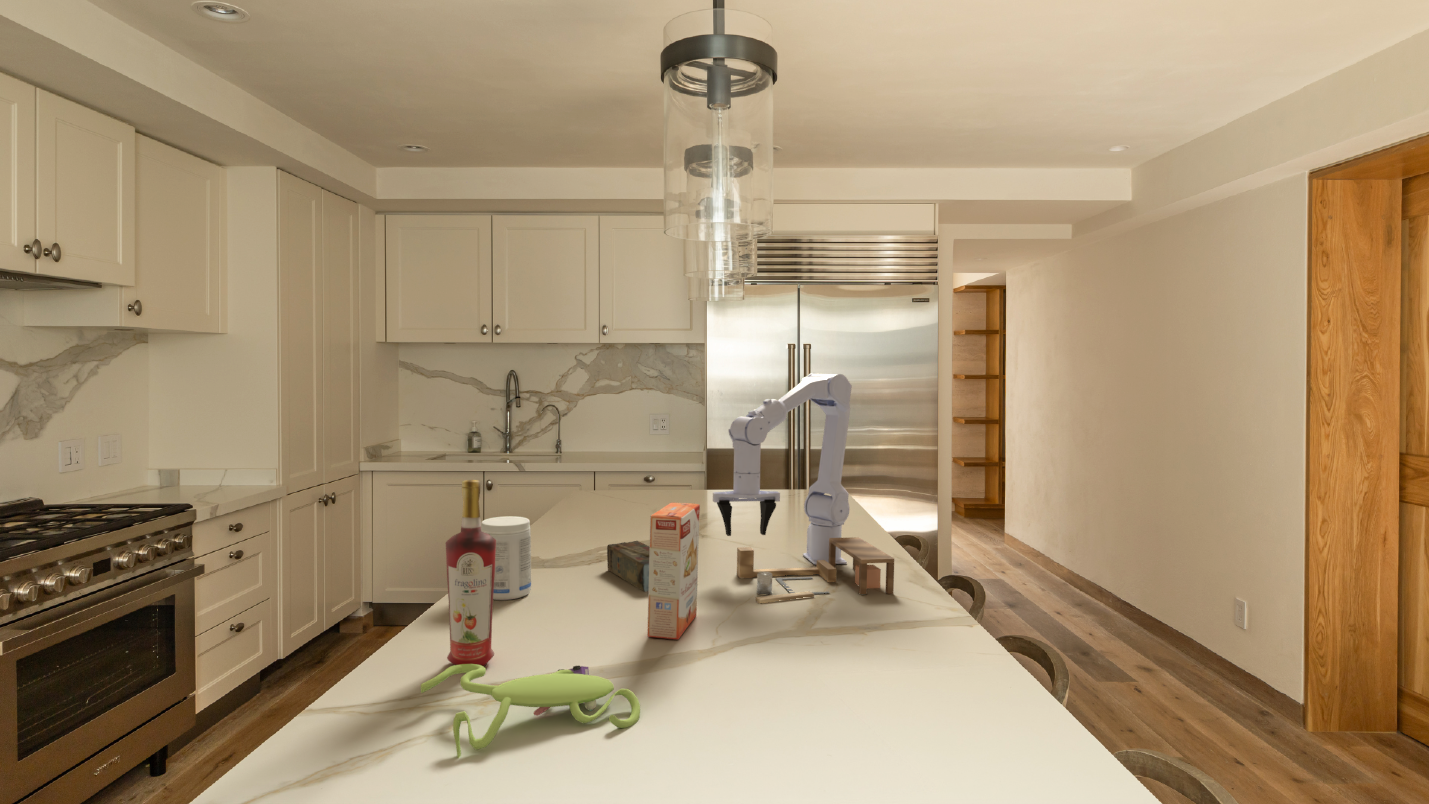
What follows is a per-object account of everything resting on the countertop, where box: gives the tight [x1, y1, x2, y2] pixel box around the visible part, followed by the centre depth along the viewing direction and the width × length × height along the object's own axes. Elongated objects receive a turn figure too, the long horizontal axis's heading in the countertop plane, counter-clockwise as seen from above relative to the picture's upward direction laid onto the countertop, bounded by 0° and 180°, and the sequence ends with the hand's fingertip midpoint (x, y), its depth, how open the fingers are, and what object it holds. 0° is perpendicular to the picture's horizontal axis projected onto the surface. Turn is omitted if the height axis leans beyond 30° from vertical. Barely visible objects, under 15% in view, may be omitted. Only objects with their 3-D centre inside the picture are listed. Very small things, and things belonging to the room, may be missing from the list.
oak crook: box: [736, 546, 838, 583], centre depth 176 cm, size 20×9×6 cm, turn 101°
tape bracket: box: [775, 576, 830, 595], centre depth 170 cm, size 12×8×1 cm, turn 11°
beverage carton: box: [606, 540, 650, 593], centre depth 174 cm, size 8×19×7 cm, turn 30°
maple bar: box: [755, 590, 815, 604], centre depth 161 cm, size 2×12×1 cm, turn 114°
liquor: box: [445, 479, 496, 667], centre depth 123 cm, size 7×7×28 cm
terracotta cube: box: [854, 564, 882, 589], centre depth 171 cm, size 4×4×4 cm
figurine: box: [420, 664, 641, 759], centre depth 107 cm, size 18×27×6 cm
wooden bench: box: [829, 536, 895, 595], centre depth 175 cm, size 20×7×7 cm, turn 11°
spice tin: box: [756, 572, 773, 595], centre depth 165 cm, size 3×3×4 cm
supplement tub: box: [481, 515, 532, 601], centre depth 161 cm, size 10×10×15 cm
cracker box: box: [647, 502, 701, 641], centre depth 143 cm, size 14×6×21 cm, turn 168°
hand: (745, 534), depth 177 cm, fingers open, 7 cm apart
